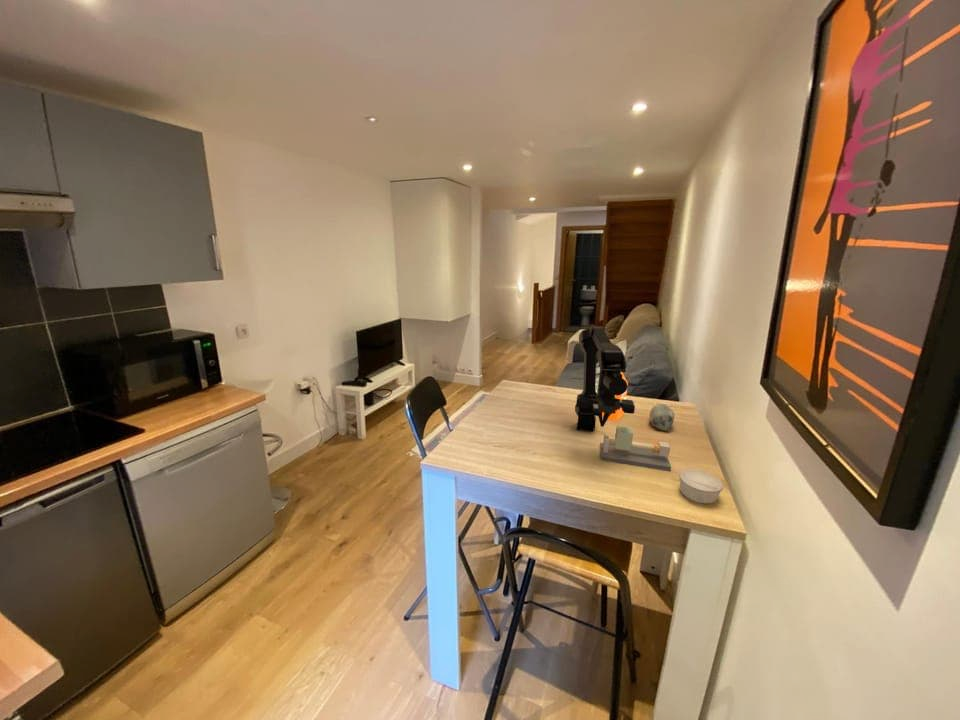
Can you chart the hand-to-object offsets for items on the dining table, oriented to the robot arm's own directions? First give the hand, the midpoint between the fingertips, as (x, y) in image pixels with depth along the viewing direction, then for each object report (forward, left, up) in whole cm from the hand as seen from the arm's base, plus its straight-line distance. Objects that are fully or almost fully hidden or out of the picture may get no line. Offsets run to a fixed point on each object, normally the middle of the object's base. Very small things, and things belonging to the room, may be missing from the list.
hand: (601, 426), depth 131 cm
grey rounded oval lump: (+25, +31, -11) cm, 41 cm away
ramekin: (+28, -16, -11) cm, 34 cm away
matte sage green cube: (+8, 0, -7) cm, 10 cm away
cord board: (+12, 0, -10) cm, 16 cm away
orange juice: (+6, +35, -11) cm, 37 cm away
